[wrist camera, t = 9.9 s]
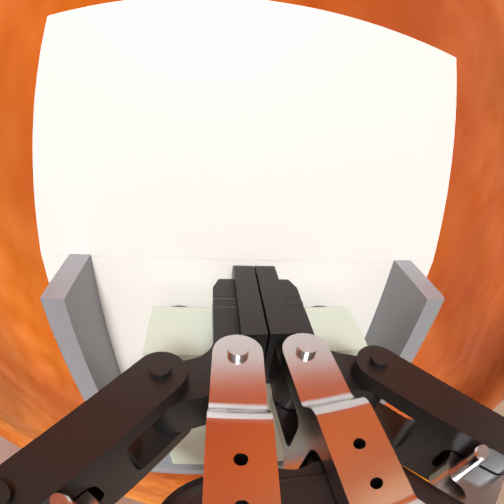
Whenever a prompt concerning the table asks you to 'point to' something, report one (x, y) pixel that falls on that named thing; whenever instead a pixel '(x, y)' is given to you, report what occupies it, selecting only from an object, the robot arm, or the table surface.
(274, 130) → the loading dock
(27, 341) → the table surface
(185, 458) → the grey rectangular block
